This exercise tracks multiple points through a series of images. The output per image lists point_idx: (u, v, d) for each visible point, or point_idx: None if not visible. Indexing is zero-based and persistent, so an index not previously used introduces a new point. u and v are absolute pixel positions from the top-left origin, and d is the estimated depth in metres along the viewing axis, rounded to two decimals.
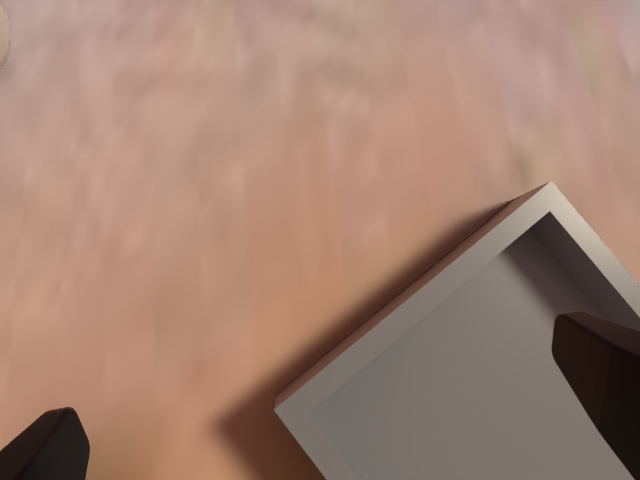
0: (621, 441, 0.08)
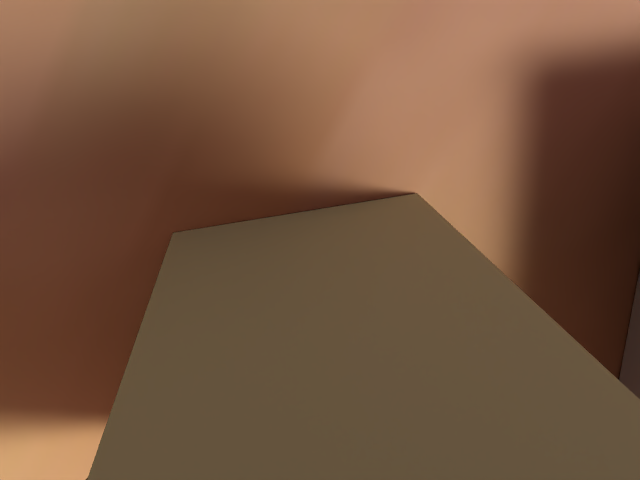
0: None
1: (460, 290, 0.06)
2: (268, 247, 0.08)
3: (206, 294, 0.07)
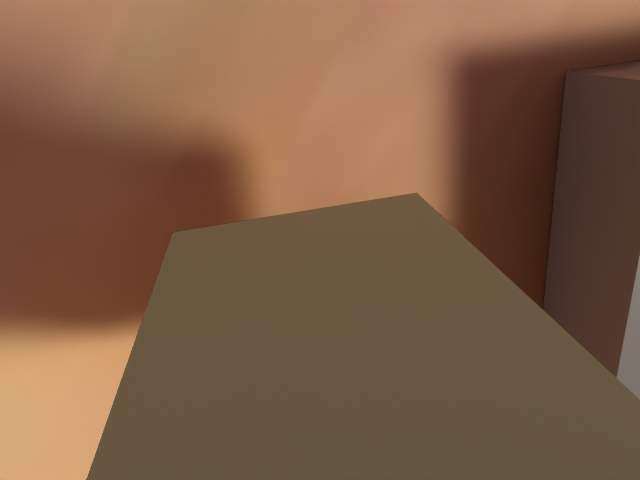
0: None
1: (459, 289, 0.06)
2: (268, 246, 0.08)
3: (204, 292, 0.07)
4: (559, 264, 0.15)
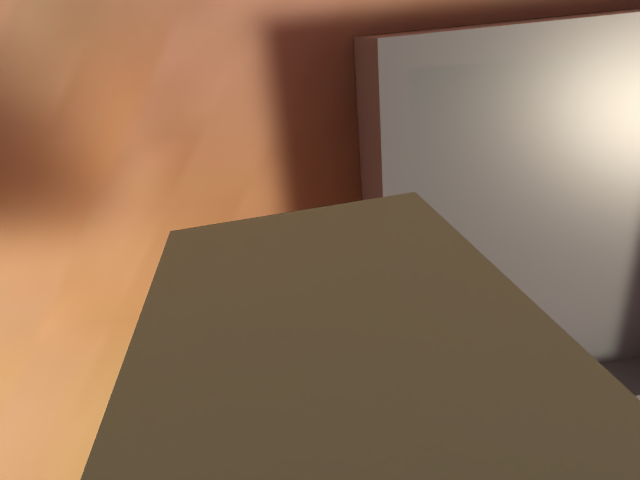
0: None
1: (457, 288, 0.06)
2: (266, 245, 0.08)
3: (202, 291, 0.07)
4: (364, 186, 0.20)
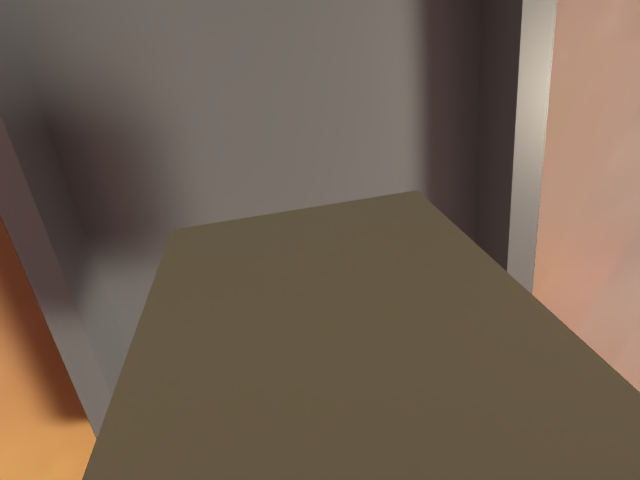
0: None
1: (460, 286, 0.06)
2: (268, 244, 0.08)
3: (204, 289, 0.07)
4: None
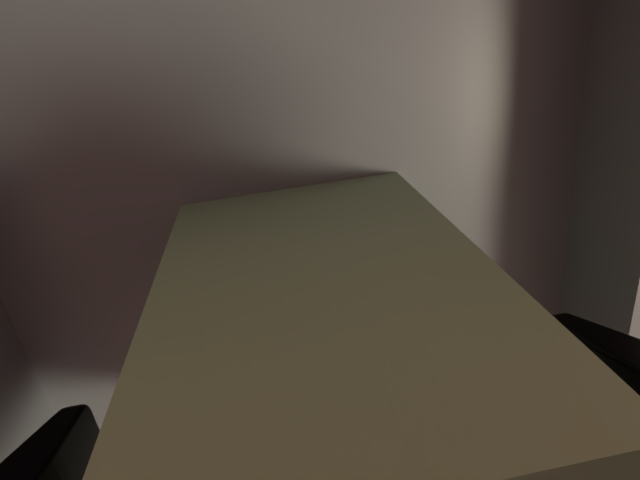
0: None
1: (422, 242, 0.08)
2: (265, 214, 0.09)
3: (210, 249, 0.08)
4: None
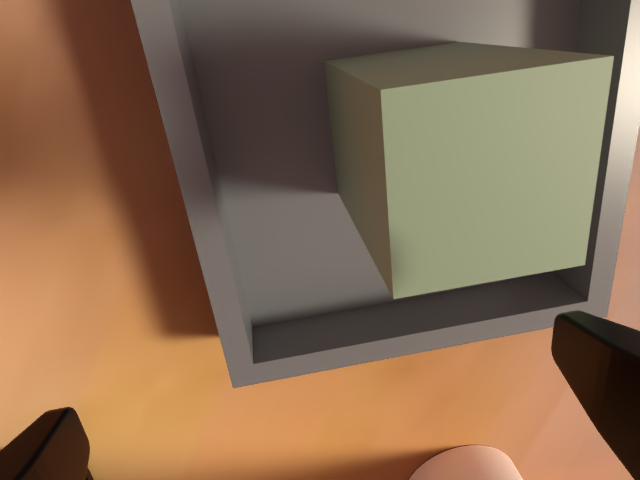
0: (621, 441, 0.08)
1: (489, 50, 0.14)
2: (385, 56, 0.16)
3: (363, 63, 0.14)
4: None
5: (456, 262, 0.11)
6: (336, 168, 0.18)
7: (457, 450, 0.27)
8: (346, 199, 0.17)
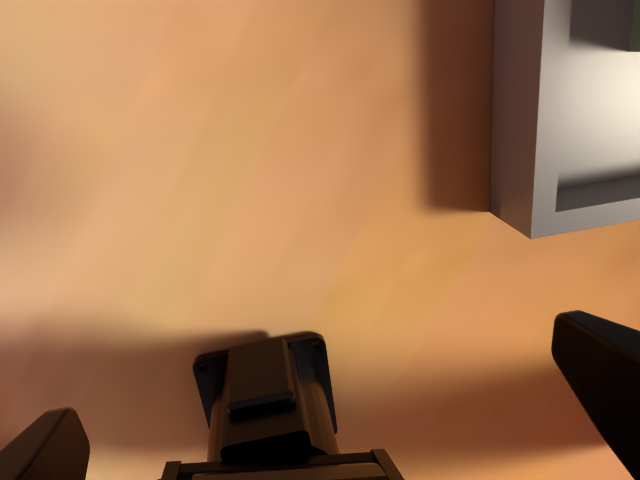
0: (621, 441, 0.08)
1: None
2: None
3: None
4: None
5: None
6: (637, 21, 0.19)
7: None
8: None
